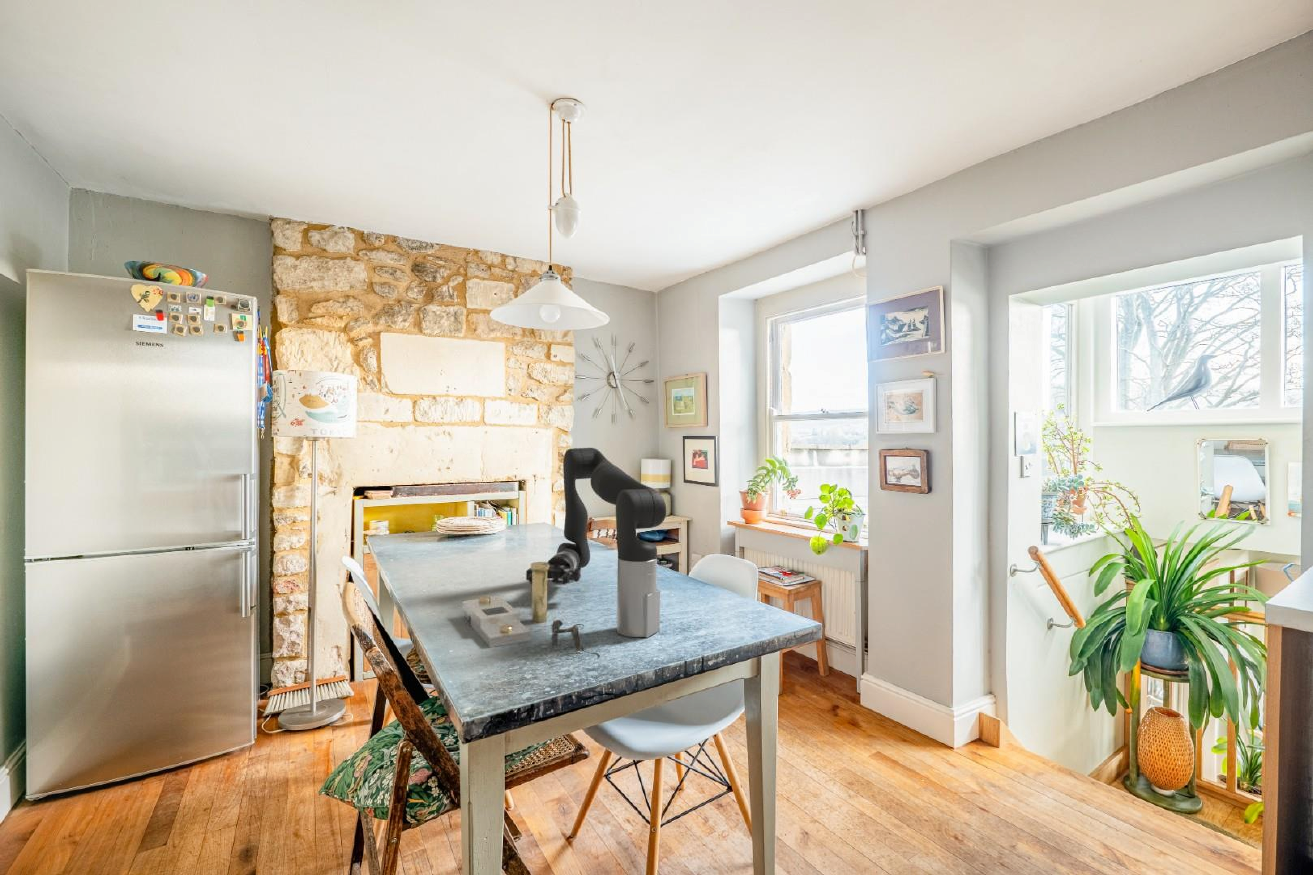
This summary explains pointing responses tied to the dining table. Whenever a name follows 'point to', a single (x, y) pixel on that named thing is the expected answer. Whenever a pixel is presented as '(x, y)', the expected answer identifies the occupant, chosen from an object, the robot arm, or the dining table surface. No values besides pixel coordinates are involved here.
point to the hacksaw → (574, 628)
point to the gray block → (495, 621)
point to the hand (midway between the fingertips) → (547, 580)
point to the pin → (539, 591)
